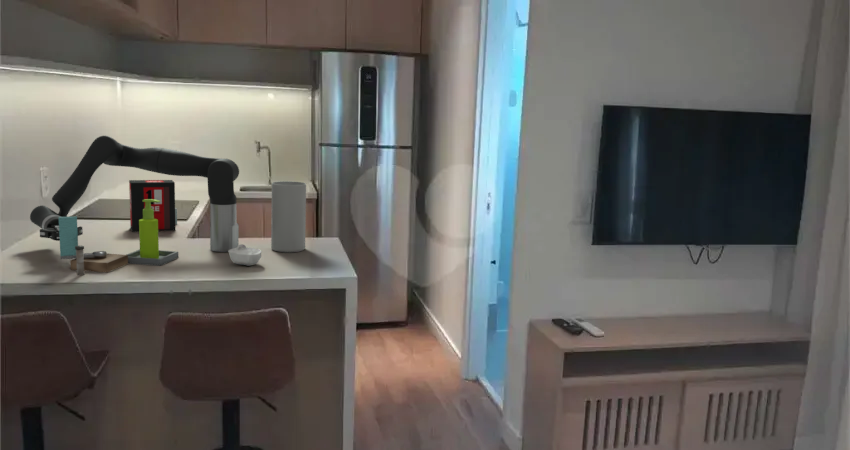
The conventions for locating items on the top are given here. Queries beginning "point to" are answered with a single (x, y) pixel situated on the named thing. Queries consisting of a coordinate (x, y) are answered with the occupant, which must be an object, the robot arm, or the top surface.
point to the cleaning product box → (162, 209)
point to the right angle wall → (175, 215)
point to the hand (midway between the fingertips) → (67, 236)
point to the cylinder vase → (288, 216)
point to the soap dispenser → (149, 232)
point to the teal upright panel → (72, 239)
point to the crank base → (97, 262)
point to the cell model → (245, 255)
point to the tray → (163, 258)
